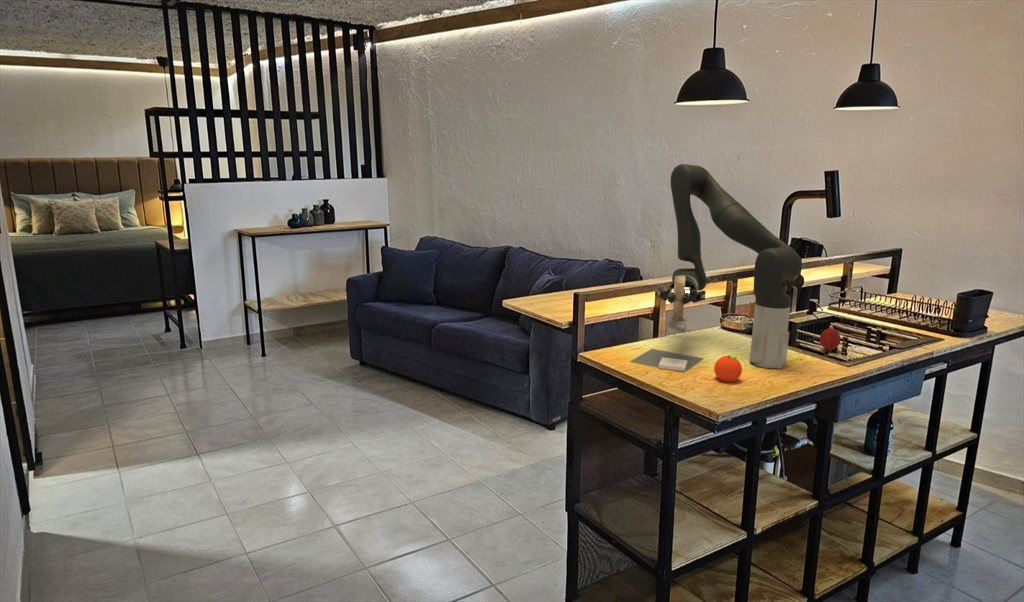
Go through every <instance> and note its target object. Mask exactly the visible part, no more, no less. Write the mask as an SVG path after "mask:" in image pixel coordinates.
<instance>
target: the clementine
mask: <svg viewBox="0 0 1024 602" xmlns="http://www.w3.org/2000/svg"><path fill="white" fill-rule="evenodd" d="M739 360H741V361H742V362H743V363H744V365H745V367H746V363H745V362H744V361H743V359H741V358H740V357H737V356H732V355H724V356H721V357H720V358H718V359H717V360H716V361H715V363H714V368H713V369H714V370H713V371H714V373H715V374H714V375H715V376H716V377H717V378H718V379H719V380H720V381H721V382H725V383H733V382H736V381H737V380H738V379H740V378H741V376H742V372H743V367H742V364H741V362H740V361H739Z"/></svg>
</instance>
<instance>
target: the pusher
mask: <svg viewBox="0 0 1024 602" xmlns="http://www.w3.org/2000/svg"><path fill="white" fill-rule="evenodd" d="M684 293H685V276H675V283H674V302H673V304H672V305H673V306H672V316H671V317H669V319H668V322H667V323H668V324H667V332H669V333H671V332H673V333H682V334H684V333H685V332H686V330H687V320H688V319H687V318H686V317H684V309H685V308H684V307H685V306H684V304H683V296H684Z"/></svg>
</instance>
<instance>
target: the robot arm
mask: <svg viewBox="0 0 1024 602" xmlns="http://www.w3.org/2000/svg"><path fill="white" fill-rule="evenodd" d="M670 189H671V196H672V201H673V202H672V203H673V208H674V214H675V220H676V228H677V258H678V260H679V261H683V262H689V263H691V264H692V265H693V266H694V268H678V269H675V270H674V271H673V273H672V277H671V282H672V283H671V285H670V286H669V288H667V289H665V288H663V287H658V288H657V297H658V298H659V299H661V300H662V301H665V302H666V301H667V302H668V303H669V304H671V305H673V302H674V283H675V276H685V293H684V296H683V304H684V305H687V304H690V303H693V304H696V303H699V302H702V301H703V302H704V301H705V300H706V290H704V289H705V288H706V286H707V284H708V280H707V279H708V278H707V274H706V272H705V268H704V265H703V260H702V251H701V250H702V248H701V247H702V245H701V241H702V240H701V239H702V238H701V230H700V228H699V225H698V222H697V220H696V217H695V216H694V213H693V210H692V206H691V205H692V204H691V196H694V197H697V199H699V200H700V201H702V202H703V203H704V204H705V205H706V206H707V208H708V210H709V214H710V218H711V220H712V222H713V223H714V225H715V226H716V227H717V228H718V229H719V230H720V232H722V233H723V234H724V235H725V236H727V238H729V239H730V240H732V241H734V242H735V243H738V244H740V245H742V246H744V247H746V248H748V249H751V250H752V251H754V252H756V253H757V257H756V258H755V263H754V271H753V295H754V298H755V303H754V313H753V321H752V334H751V341H750V342H751V343H750V354H749V363H750V364H752V365H753V366H757V367H760V368H765V369H766V368H767V369H778V370H779V369H780V370H781V369H782V368H783V367H784V366H785V365H786V364H787V357H788V349H789V348H788V347H789V337H790V331H789V330H788V329H789V323H790V322H789V321H790V312H791V305H792V297H791V295H789V294H787V293H784V291H783V281H788V280H792V279H794V278H797V277H798V276H799V275H800V274H801V272H802V268H803V264H802V259H801V257H800V255H799V254H798V252H797V251H796V250H795V249H794V248H793V247H791V246H790V245H789V244H788V243H785V242H784V241H782V239H780V238H778V237H777V236H776V235H774V233H772V232H771V231H770V230H769V229H768V228H767V227H766V226H765V225H763V223H761V222H760V221H759V220H758V219H756V217H755V216H754V215H752V213H751V212H749V211H748V210H747V209H746V208H745V207H744V206H743V205H742V204H741V203H740V202H739V201H737V200H736V199H735V198H734V197H733V196H732V195H731V194H730V193H728V192H727V191H726V190H725V189H724V188H723V187H722V186H721V185H720V184H719V183H718V181H717V180H716V179H715V178H714V176H712V175H711V173H710V172H709V171H708V170H707V169H706V168H705V167H702V166H700V165H693V164H689V163H688V164H687V163H686V164H685V163H682V164H681V163H680V164H678V165H677V166H675V167H674V168H673V170H672V172H671V175H670Z"/></svg>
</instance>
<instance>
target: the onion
mask: <svg viewBox="0 0 1024 602" xmlns="http://www.w3.org/2000/svg"><path fill="white" fill-rule="evenodd" d="M819 343H820V345H821V346H822V347H823V349H825V350H826V349H827V350H831V351H832V349H833V350H834V349H836V348H837V347H838V346H840V344H841V335H840V333H839V332H838V331H837V330H836V329H835V328H834V325H829V327H828V328H827V329H824V330H823V331H822V332H821V333H820V336H819ZM827 350H826V351H827Z"/></svg>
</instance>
